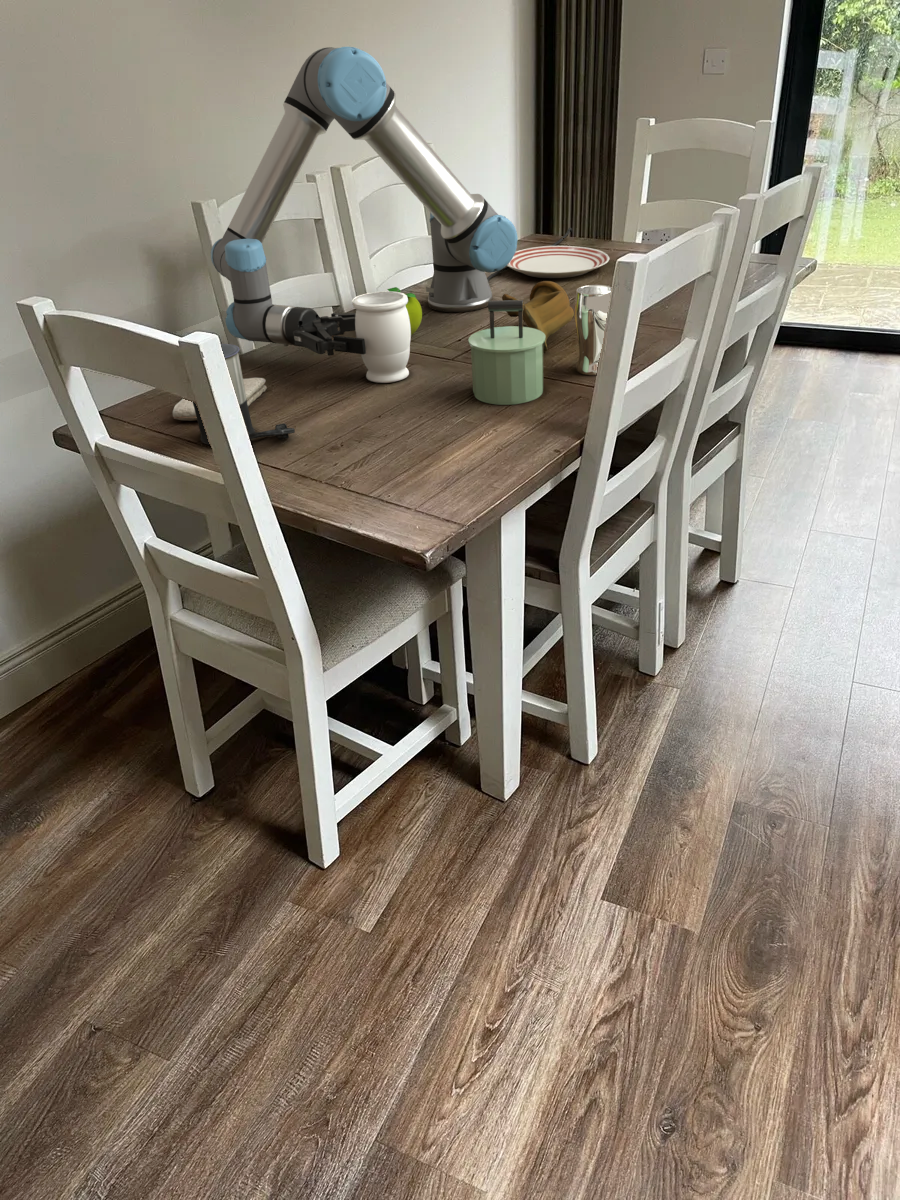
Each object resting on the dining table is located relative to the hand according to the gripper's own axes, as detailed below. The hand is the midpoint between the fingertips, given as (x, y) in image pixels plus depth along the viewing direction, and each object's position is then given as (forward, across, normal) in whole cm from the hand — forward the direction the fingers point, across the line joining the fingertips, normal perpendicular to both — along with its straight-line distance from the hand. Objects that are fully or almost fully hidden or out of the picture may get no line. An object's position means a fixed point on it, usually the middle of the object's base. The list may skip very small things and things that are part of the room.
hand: (384, 335), depth 175 cm
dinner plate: (-2, -86, -8) cm, 87 cm away
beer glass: (+36, -16, -8) cm, 40 cm away
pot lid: (+26, 0, +2) cm, 26 cm away
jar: (0, 0, -8) cm, 8 cm away
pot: (+26, 0, -8) cm, 27 cm away
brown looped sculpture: (+19, -29, -8) cm, 36 cm away
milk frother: (-6, +35, -8) cm, 36 cm away
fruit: (-11, -23, -8) cm, 27 cm away
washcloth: (-21, +24, -8) cm, 33 cm away
